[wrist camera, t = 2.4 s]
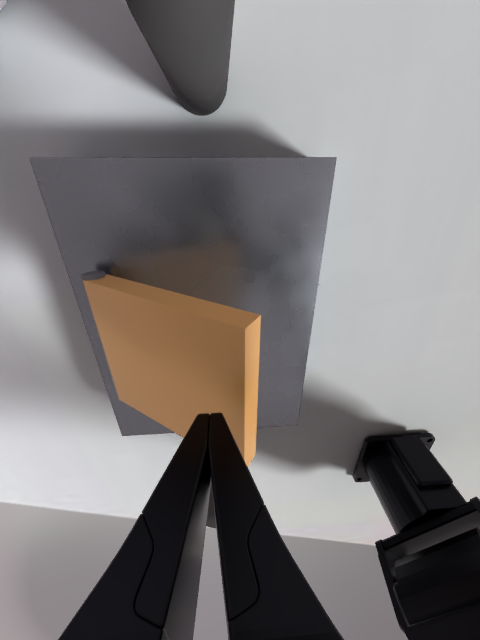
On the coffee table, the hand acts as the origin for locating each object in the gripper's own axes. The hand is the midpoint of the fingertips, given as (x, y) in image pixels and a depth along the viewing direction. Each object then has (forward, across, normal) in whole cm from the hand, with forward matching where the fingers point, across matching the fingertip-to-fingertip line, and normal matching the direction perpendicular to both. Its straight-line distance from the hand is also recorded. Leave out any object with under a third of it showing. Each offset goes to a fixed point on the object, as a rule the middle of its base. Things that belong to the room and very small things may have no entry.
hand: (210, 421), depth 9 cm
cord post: (+9, 0, -11) cm, 14 cm away
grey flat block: (+9, +1, 0) cm, 9 cm away
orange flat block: (+3, +2, 0) cm, 4 cm away
